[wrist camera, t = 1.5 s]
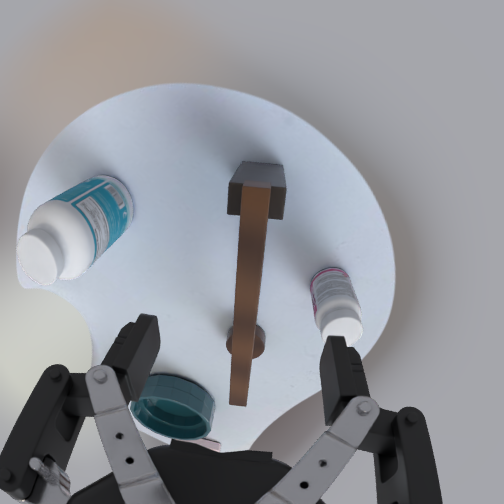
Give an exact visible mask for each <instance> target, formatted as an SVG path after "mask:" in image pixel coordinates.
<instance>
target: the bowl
mask: <svg viewBox="0 0 504 504" xmlns="http://www.w3.org/2000/svg"><path fill="white" fill-rule="evenodd" d="M130 410H131V412H132V414H133V416H134V417H135V418H136V419H137V420H138V421H139V422H140V423H141V424H142V425H143V426H144V427H146V428H148V429H150V430H151V431H153V432H155V433H157V434H160V435H162V436H165V437H168V438H172V439H178V440H198V439H201V438H204V437H206V436H207V435H208V434H209V432H210V431H211V428H212V423H213V417H214V412H215V407H214V401H213V399H212V398H211V397H210V396H209V395H208V393H207V392H206V391H204V390H203V389H201V388H200V387H198V386H197V385H195V384H194V383H191V382H189V381H186V380H183V379H181V378H178V377H173V376H166V375H155V376H148V378H147V381H146V383H145V386H144V388H143V391H142V393H141V396H140V398H139V401H138V402H134V401H132V402H131V407H130Z"/></svg>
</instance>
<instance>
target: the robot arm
mask: <svg viewBox="0 0 504 504" xmlns="http://www.w3.org/2000/svg"><path fill="white" fill-rule="evenodd" d="M159 349H160V333H159V326H158V319H157V316H154V315H148V314H140V315H139V317H138V319H137V321H136V322H135V323H133V322H129V323H128V324H127V325H125V326H124V327H123V328H122V329H121V331H120V332H119V334H118V337H116V339H115V341H114V343H113V344H112V346H111V348H110V349H109V351H108V353H107V355H106V356H105V358H104V360H103V362H102V363H101V365H97V366H94V367H92V368H91V369H90V370H88V372H87V373H69V371H68V369H67V368H66V367H65V366H63V365H59V364H55V365H52V366H49V367H48V368H47V369H46V370H45V371H44V372H43V374H42V376H41V378H40V379H39V381H38V383H37V385H36V386H35V388H34V390H33V391H32V393H31V395H30V397H29V399H28V401H27V403H26V404H25V406H24V408H23V410H22V412H21V414H20V416H19V417H18V419H17V421H16V423H15V425H14V427H13V430H12V431H11V433H10V435H9V438H8V440H7V442H6V444H5V446H4V448H3V450H2V452H1V455H0V489H2V490H3V491H4V492H6V493H7V494H9V495H10V496H11V497H12V498H13V499H15V500H16V501H18V502H19V503H21V504H325V503H324V502H323V501H322V499H320V498H321V496H322V495H323V494H324V493H325V492H326V490H327V489H328V488H329V486H330V485H331V484H332V483H333V482H334V480H335V479H336V478H337V476H338V475H339V474H340V472H341V471H342V470H343V468H344V467H345V465H346V464H347V463H348V462H349V460H350V459H351V457H352V456H353V454H354V453H355V452H356V450H357V449H358V450H362V451H367V452H371V453H373V455H374V466H375V476H376V490H377V504H442V496H441V490H440V485H439V479H438V474H437V468H436V464H435V459H434V455H433V449H432V445H431V441H430V437H429V432H428V428H427V425H426V420H425V417H424V415H423V414H422V412H421V411H420V410H418V409H416V408H414V407H404V408H402V409H401V410H400V411H399V412H398V413H397V412H393V411H389V410H384V409H382V408H379V405H378V404H377V402H376V401H375V400H373V399H372V398H371V397H370V394H369V389H368V385H367V381H366V378H365V373H364V369H363V366H362V362H361V358H360V355H359V353H358V352H357V351H356V350H355V348H354V347H347V344H346V340H345V337H344V336H334V335H328V337H327V339H326V343H325V346H324V349H323V352H322V355H321V359H320V378H321V387H322V396H323V405H324V415H325V425H326V426H331V427H330V428H329V429H328V430H327V431H325V432H324V433H323V434H322V435H321V436H320V437H319V439H318V440H317V441H316V442H315V443H314V445H313V446H312V447H311V448H310V449H309V450H308V451H307V452H306V454H305V455H304V456H303V457H302V458H301V459H300V460H299V462H298V463H297V464H296V465H295V466H294V467H293V468H292V467H290V466H289V465H287V464H285V463H283V462H281V461H279V460H276V459H273V458H272V452H263V451H262V452H261V451H250V450H245V451H236V452H225V453H220V452H217V451H214V450H211V449H209V448H206V447H204V446H201V445H199V444H196V443H191V442H185V441H180V440H175V439H172V440H171V444H170V445H162V446H158V447H154V448H151V449H149V450H147V449H146V447H145V445H144V443H143V441H142V439H141V437H140V434H139V432H138V430H137V428H136V425H135V423H134V421H133V418H132V416H131V413H130V411H129V409H128V405H129V402H130V401H134V402H138V401H139V398H140V396H141V393H142V391H143V388H144V386H145V383H146V381H147V378H148V376H149V374H150V371H151V369H152V366H153V364H154V362H155V359H156V357H157V355H158V352H159ZM85 417H94V419H95V423H96V426H97V429H98V432H99V435H100V438H101V441H102V444H103V447H104V449H105V452H106V455H107V458H108V460H109V463H110V465H111V468H112V470H113V472H111V473H109V474H108V475H106V476H104V477H103V478H101V479H99V480H97V481H96V482H94V483H92V484H91V485H89V486H87V487H85V488H83V489H81V490H80V491H78V492H76V493H74V494H73V495H72V496H71V495H70V479H69V477H68V475H67V474H66V473H65V470H66V467H67V464H68V461H69V459H70V456H71V453H72V450H73V448H74V445H75V443H76V440H77V437H78V435H79V432H80V430H81V427H82V425H83V422H84V420H85Z"/></svg>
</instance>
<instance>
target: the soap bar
mask: <svg viewBox="0 0 504 504" xmlns="http://www.w3.org/2000/svg"><path fill="white" fill-rule="evenodd" d="M175 440H178V439H175ZM180 441H185V442H191V443H196V444H199V445H201V446H204V447H206V448H209V449H211V450H214V451H217V452H220V449H221V444H220V443H217V442H213V441H209V440H205V439H202V438H201V439H198V440H180Z"/></svg>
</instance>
